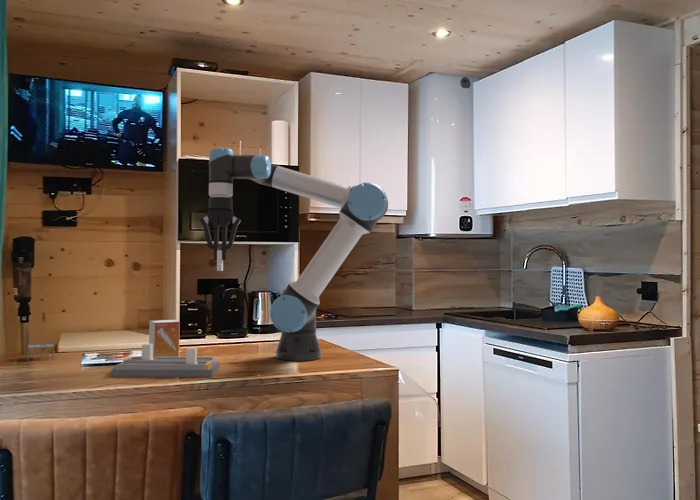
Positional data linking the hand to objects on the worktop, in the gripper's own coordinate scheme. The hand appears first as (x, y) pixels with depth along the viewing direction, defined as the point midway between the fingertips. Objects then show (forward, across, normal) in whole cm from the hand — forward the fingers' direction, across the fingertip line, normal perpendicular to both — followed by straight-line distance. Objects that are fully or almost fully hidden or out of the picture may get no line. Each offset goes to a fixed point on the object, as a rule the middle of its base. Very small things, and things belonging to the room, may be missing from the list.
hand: (219, 270), depth 199 cm
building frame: (+30, +58, -6) cm, 66 cm away
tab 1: (+27, +19, +13) cm, 36 cm away
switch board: (+29, +12, +17) cm, 36 cm away
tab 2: (+27, +4, +20) cm, 34 cm away
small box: (+30, +18, -2) cm, 35 cm away
